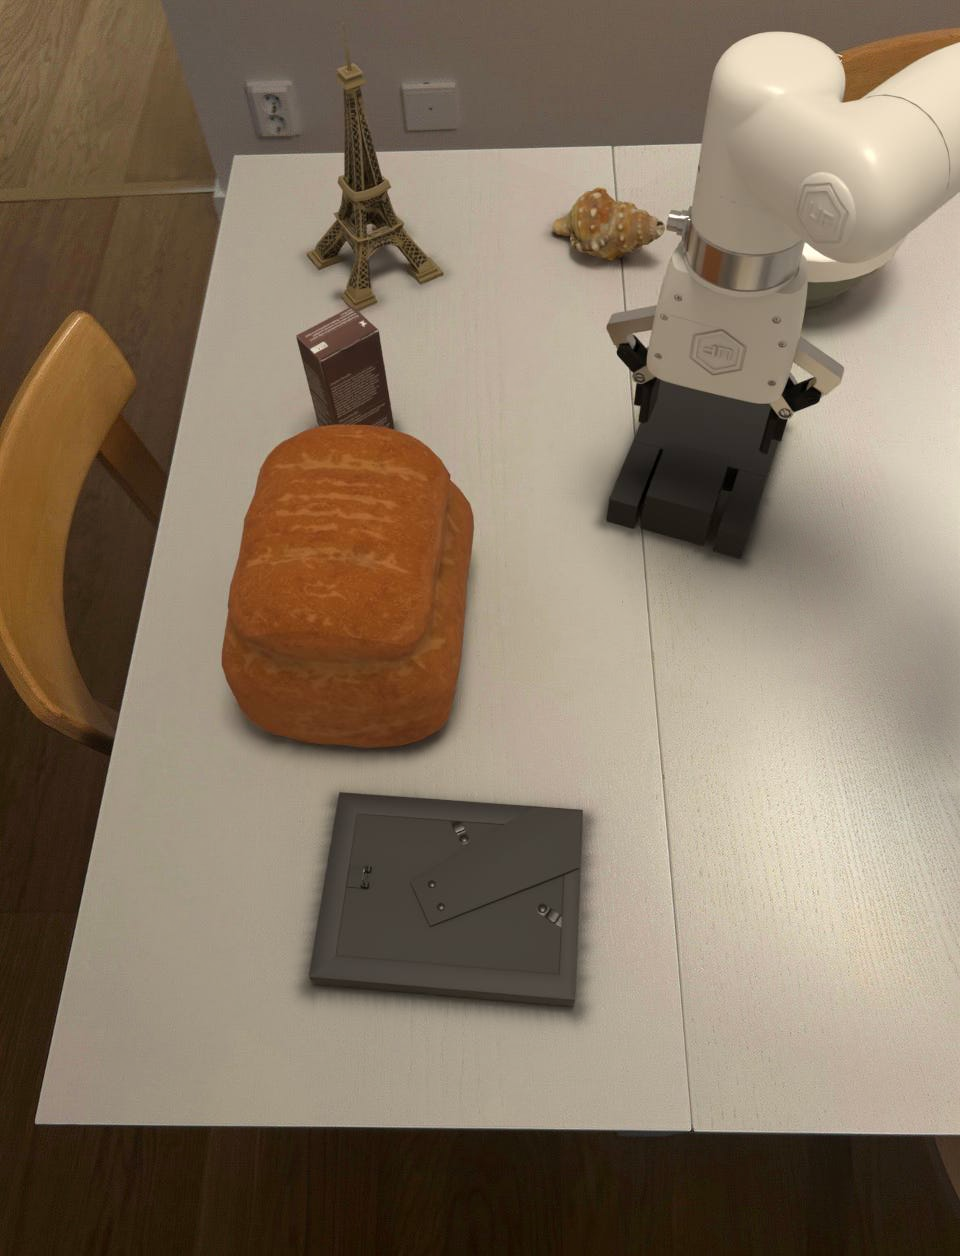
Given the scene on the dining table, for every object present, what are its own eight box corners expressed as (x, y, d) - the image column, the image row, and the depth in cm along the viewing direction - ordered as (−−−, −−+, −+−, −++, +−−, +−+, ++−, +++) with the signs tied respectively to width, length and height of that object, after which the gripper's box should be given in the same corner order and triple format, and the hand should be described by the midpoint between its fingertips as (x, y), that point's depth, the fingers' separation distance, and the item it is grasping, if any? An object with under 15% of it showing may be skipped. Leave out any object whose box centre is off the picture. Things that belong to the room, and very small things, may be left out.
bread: (232, 743, 82) (174, 627, 68) (284, 524, 93) (244, 384, 79) (457, 760, 81) (446, 645, 67) (482, 535, 92) (477, 396, 78)
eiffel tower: (393, 220, 115) (368, -22, 94) (443, 274, 110) (428, 32, 89) (307, 255, 112) (260, 14, 91) (353, 312, 108) (316, 72, 86)
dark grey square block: (721, 491, 94) (730, 457, 90) (703, 545, 91) (711, 513, 87) (660, 475, 95) (666, 440, 92) (640, 528, 92) (645, 495, 88)
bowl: (828, 198, 116) (853, 115, 108) (923, 314, 106) (958, 233, 98) (663, 237, 113) (675, 156, 105) (745, 361, 103) (765, 281, 95)
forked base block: (782, 427, 98) (790, 404, 96) (741, 559, 90) (748, 538, 88) (657, 395, 101) (661, 372, 98) (606, 520, 93) (608, 498, 90)
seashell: (634, 246, 117) (682, 194, 108) (609, 302, 114) (656, 253, 105) (563, 199, 115) (606, 141, 106) (536, 255, 112) (578, 201, 103)
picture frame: (581, 819, 78) (342, 802, 79) (583, 807, 76) (338, 790, 77) (574, 1007, 71) (312, 984, 72) (576, 998, 69) (306, 976, 70)
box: (369, 403, 101) (353, 302, 91) (395, 430, 99) (383, 331, 89) (315, 432, 99) (293, 333, 89) (341, 461, 97) (322, 363, 87)
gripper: (600, 250, 70) (587, 432, 84) (868, 308, 66) (806, 488, 80) (634, 183, 73) (615, 368, 88) (888, 234, 69) (826, 419, 84)
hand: (706, 425), depth 84 cm, fingers open, 9 cm apart
